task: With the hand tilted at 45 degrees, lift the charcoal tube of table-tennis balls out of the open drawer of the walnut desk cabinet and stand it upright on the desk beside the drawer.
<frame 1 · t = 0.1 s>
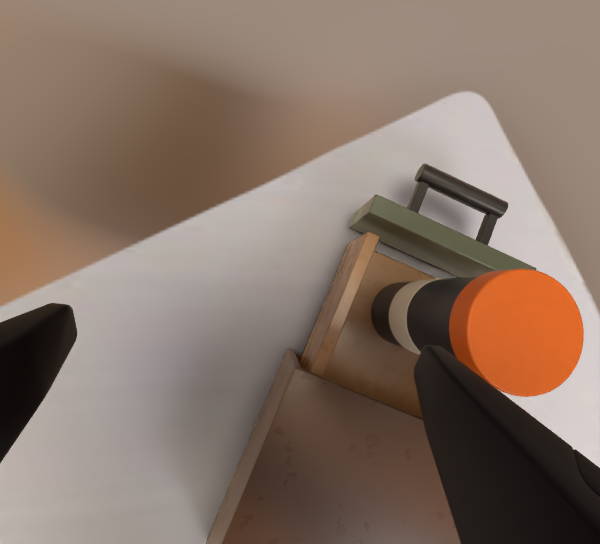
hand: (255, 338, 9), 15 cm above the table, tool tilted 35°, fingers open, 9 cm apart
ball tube: (400, 313, 23), point 2 cm above the table, touching drawer
cabinet: (328, 472, 23), on the table
drawer: (414, 300, 22), point 3 cm above the table, slide at 9.5 cm, touching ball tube
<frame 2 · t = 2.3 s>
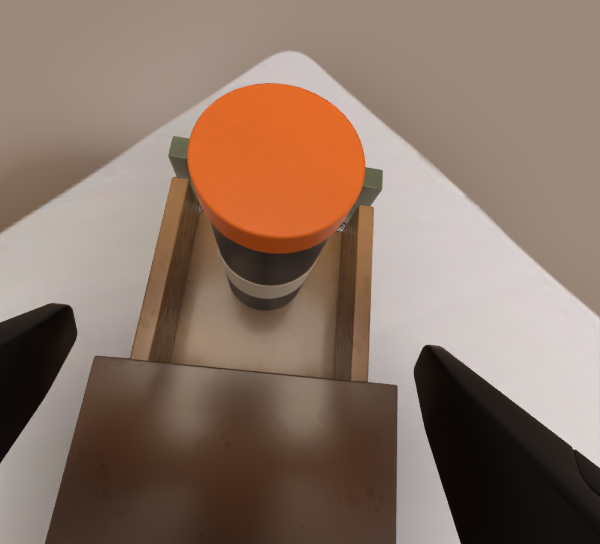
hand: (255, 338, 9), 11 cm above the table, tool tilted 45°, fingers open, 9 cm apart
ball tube: (265, 273, 19), point 2 cm above the table, touching drawer
cabinet: (235, 508, 17), on the table
drawer: (268, 249, 18), point 3 cm above the table, slide at 9.5 cm, touching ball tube
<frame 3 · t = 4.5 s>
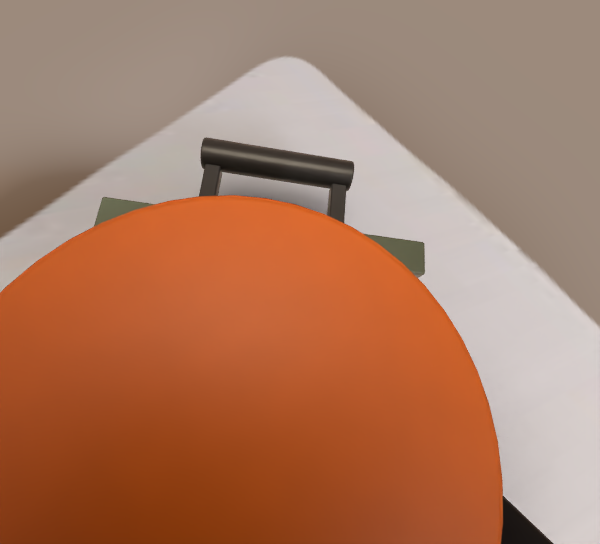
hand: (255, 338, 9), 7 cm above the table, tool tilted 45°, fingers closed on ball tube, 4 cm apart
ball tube: (250, 385, 13), point 2 cm above the table, touching drawer, gripper
drawer: (253, 358, 12), point 3 cm above the table, slide at 9.5 cm, touching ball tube
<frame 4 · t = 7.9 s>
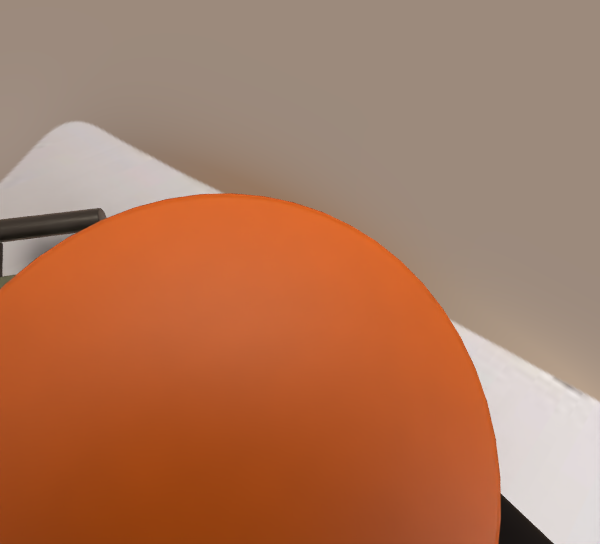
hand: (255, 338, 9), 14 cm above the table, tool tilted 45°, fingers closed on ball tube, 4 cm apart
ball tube: (249, 384, 13), point 9 cm above the table, touching gripper
drawer: (53, 366, 17), point 3 cm above the table, slide at 9.5 cm
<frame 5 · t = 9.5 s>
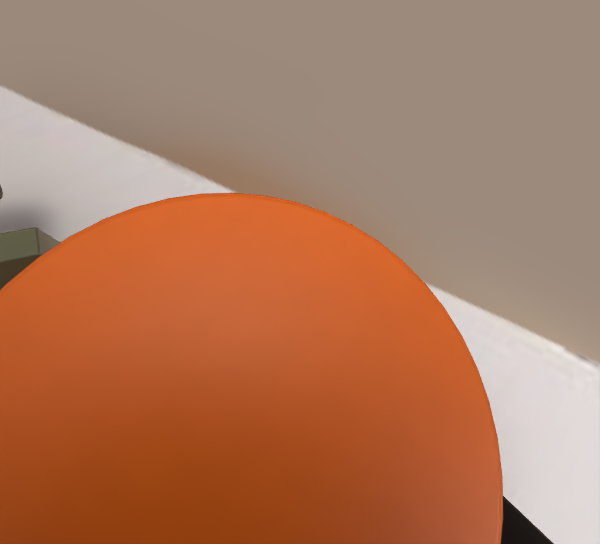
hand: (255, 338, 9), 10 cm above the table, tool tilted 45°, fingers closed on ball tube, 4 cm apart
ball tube: (250, 384, 13), point 5 cm above the table, touching gripper
when the fingers open (5 cm above the table, at t = 11.2 s): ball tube stays where it is, on the table.
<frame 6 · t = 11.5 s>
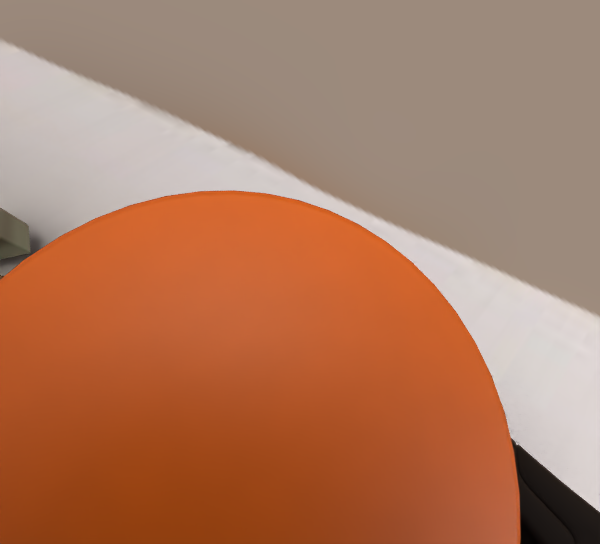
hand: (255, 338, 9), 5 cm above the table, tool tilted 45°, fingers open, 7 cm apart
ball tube: (250, 386, 13), on the table
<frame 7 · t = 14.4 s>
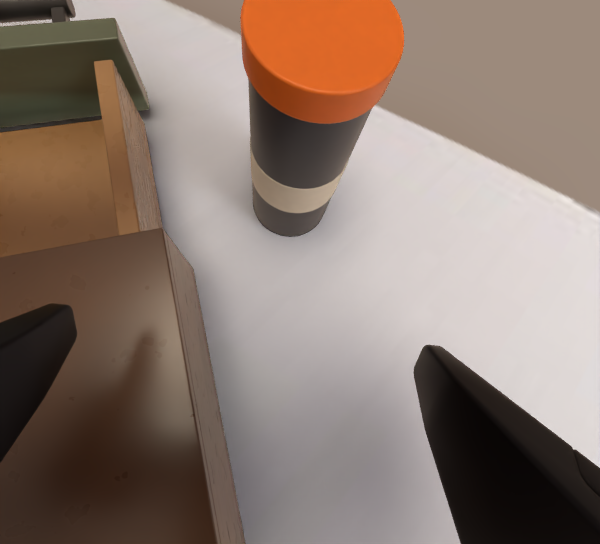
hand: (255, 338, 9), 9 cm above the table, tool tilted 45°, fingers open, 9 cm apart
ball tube: (289, 202, 20), on the table
cabinet: (88, 432, 16), on the table
drawer: (23, 150, 15), point 3 cm above the table, slide at 9.5 cm
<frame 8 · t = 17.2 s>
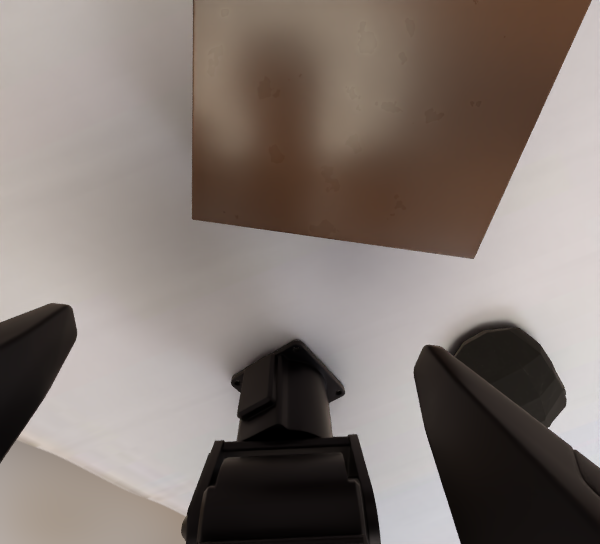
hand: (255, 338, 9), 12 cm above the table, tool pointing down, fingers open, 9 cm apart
gaming mouse: (509, 382, 27), on the table
cabinet: (353, 61, 16), on the table
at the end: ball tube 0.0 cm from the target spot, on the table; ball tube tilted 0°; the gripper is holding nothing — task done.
